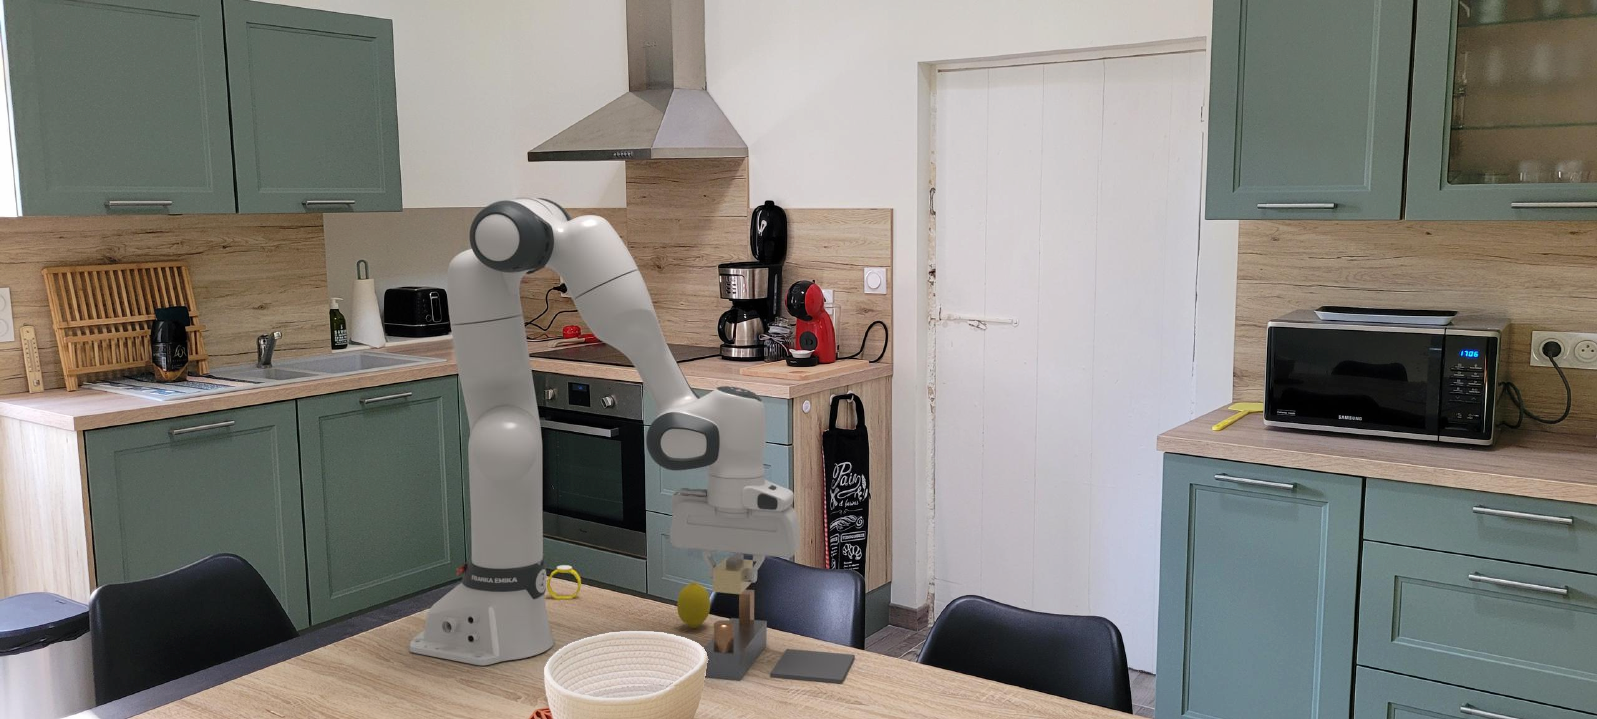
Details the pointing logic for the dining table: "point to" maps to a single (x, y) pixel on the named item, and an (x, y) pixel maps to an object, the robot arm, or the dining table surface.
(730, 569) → the lever cap
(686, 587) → the lemon
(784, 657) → the rubber mat
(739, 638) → the plane body
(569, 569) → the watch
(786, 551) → the robot arm
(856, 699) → the dining table surface
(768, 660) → the dining table surface
